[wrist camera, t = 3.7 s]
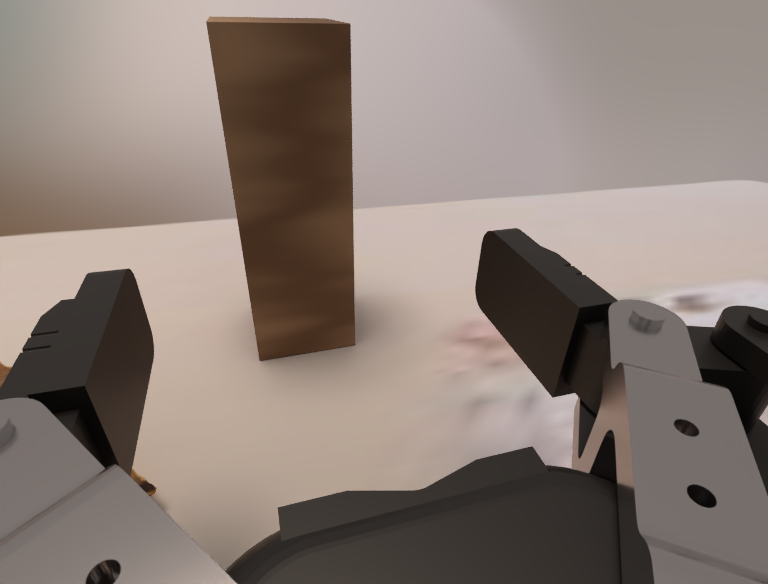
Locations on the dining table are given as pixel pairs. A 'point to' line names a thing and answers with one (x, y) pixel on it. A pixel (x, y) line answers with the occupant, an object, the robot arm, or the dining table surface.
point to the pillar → (290, 174)
